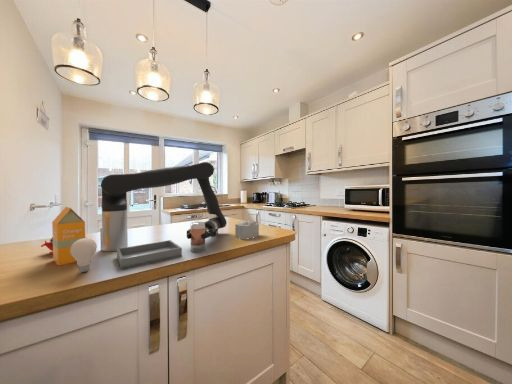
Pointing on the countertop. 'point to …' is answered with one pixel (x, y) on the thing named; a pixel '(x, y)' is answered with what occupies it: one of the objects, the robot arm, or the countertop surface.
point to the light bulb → (83, 253)
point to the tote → (147, 254)
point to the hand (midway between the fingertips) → (195, 236)
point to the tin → (197, 237)
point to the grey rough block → (246, 229)
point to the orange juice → (66, 235)
